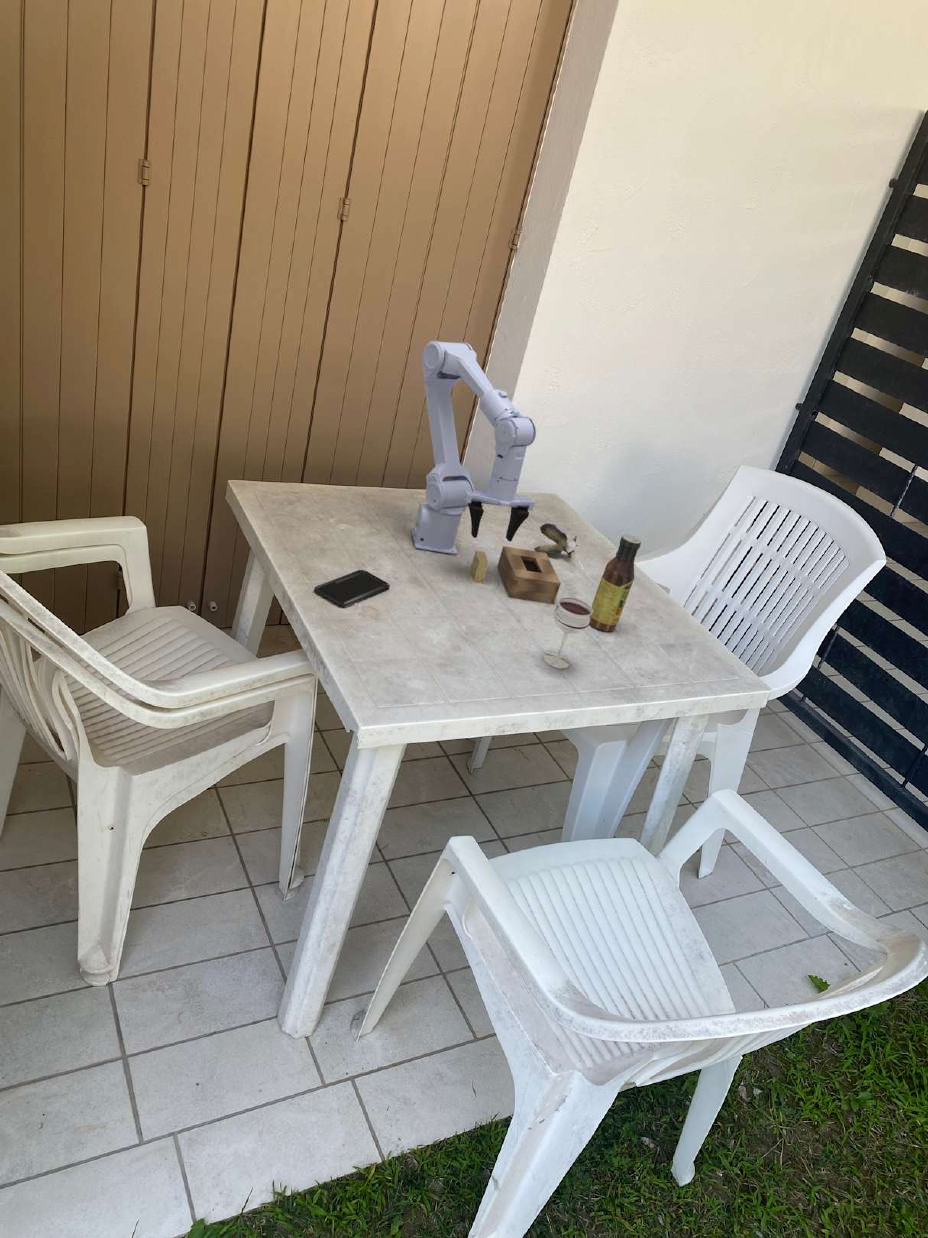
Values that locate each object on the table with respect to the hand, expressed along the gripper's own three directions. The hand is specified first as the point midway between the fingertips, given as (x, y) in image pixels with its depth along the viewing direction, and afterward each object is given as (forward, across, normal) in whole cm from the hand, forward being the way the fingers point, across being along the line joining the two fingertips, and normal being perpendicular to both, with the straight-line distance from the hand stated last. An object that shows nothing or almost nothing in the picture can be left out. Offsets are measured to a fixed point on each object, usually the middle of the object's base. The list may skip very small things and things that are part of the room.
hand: (491, 537), depth 194 cm
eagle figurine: (+9, +22, +18) cm, 30 cm away
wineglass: (+12, +8, -30) cm, 33 cm away
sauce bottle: (+11, +23, -14) cm, 29 cm away
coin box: (+10, +10, 0) cm, 14 cm away
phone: (+10, -29, -11) cm, 33 cm away
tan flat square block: (+10, -1, +1) cm, 10 cm away
